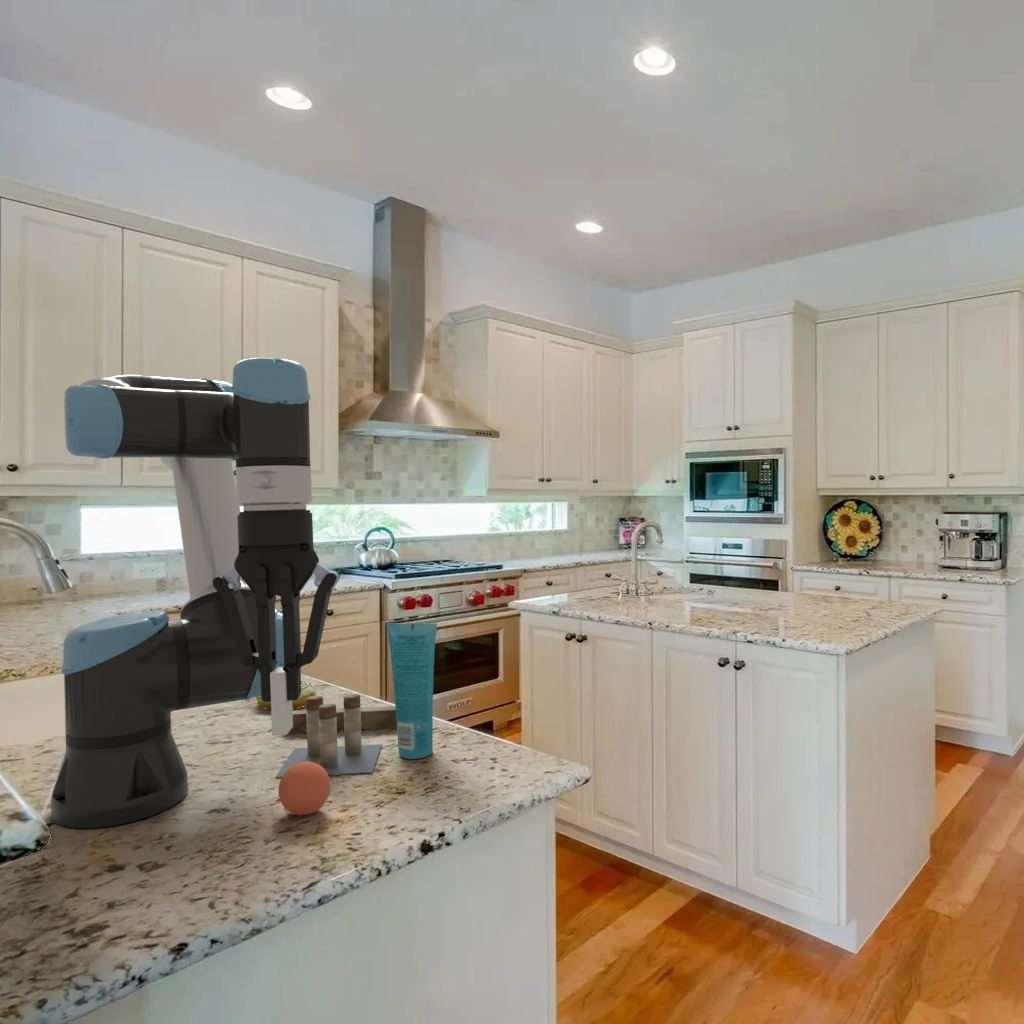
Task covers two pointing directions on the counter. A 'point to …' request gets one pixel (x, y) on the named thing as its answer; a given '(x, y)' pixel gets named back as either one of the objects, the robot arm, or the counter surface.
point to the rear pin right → (313, 725)
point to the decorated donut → (306, 691)
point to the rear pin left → (352, 724)
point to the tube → (413, 686)
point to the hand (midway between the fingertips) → (282, 730)
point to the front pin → (328, 735)
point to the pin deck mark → (345, 762)
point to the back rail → (369, 719)
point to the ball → (304, 788)
